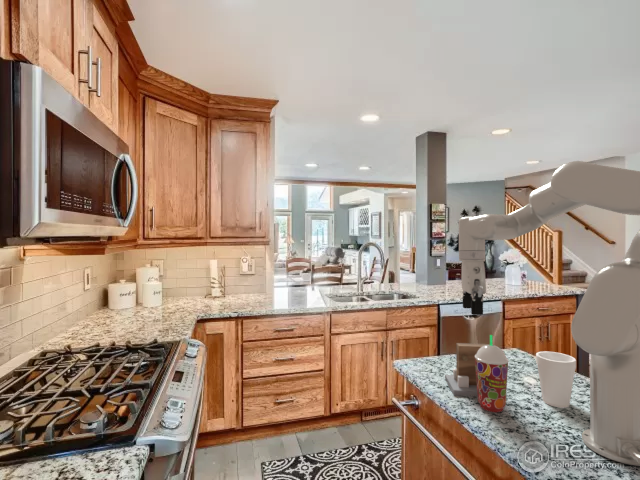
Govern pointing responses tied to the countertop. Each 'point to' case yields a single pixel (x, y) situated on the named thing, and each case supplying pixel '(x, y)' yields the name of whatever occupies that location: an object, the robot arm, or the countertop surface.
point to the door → (467, 361)
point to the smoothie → (491, 377)
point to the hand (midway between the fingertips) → (472, 311)
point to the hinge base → (460, 385)
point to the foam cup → (556, 377)
